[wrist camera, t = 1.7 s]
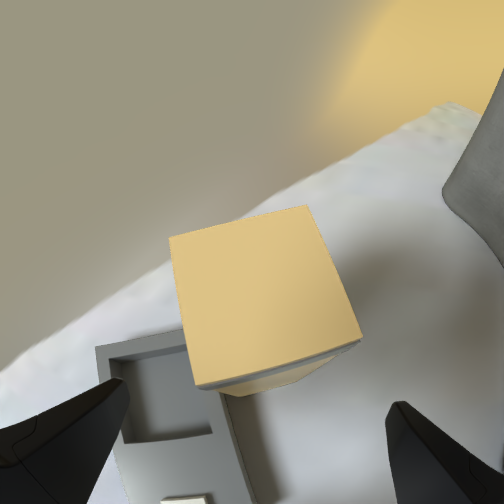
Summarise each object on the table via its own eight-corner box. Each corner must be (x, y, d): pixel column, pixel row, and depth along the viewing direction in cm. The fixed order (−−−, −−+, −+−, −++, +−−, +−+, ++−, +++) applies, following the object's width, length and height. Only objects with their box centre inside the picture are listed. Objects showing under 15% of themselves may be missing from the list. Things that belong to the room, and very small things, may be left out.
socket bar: (260, 511, 14) (259, 528, 11) (152, 522, 13) (137, 535, 10) (209, 333, 20) (200, 322, 18) (110, 353, 20) (90, 344, 17)
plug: (297, 381, 19) (365, 337, 6) (239, 397, 18) (193, 387, 6) (280, 328, 21) (307, 202, 8) (224, 343, 20) (166, 236, 8)
